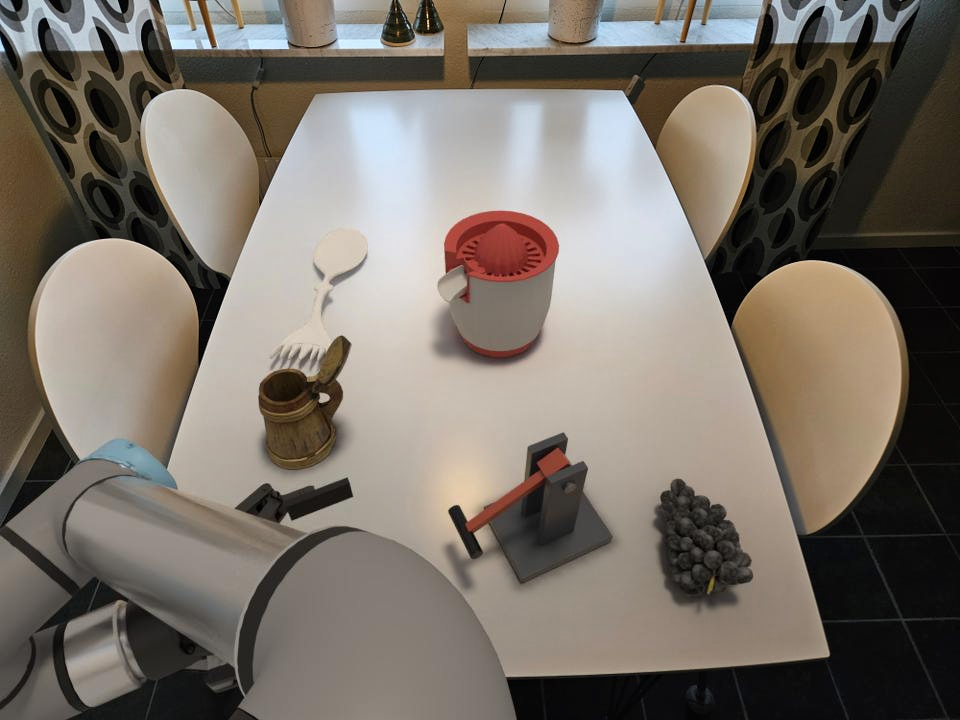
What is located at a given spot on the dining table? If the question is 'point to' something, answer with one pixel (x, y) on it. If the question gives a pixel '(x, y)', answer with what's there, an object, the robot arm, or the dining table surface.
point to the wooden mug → (303, 410)
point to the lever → (504, 502)
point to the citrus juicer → (499, 280)
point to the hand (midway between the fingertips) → (372, 542)
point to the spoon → (324, 291)
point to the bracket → (550, 518)
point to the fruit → (701, 542)
